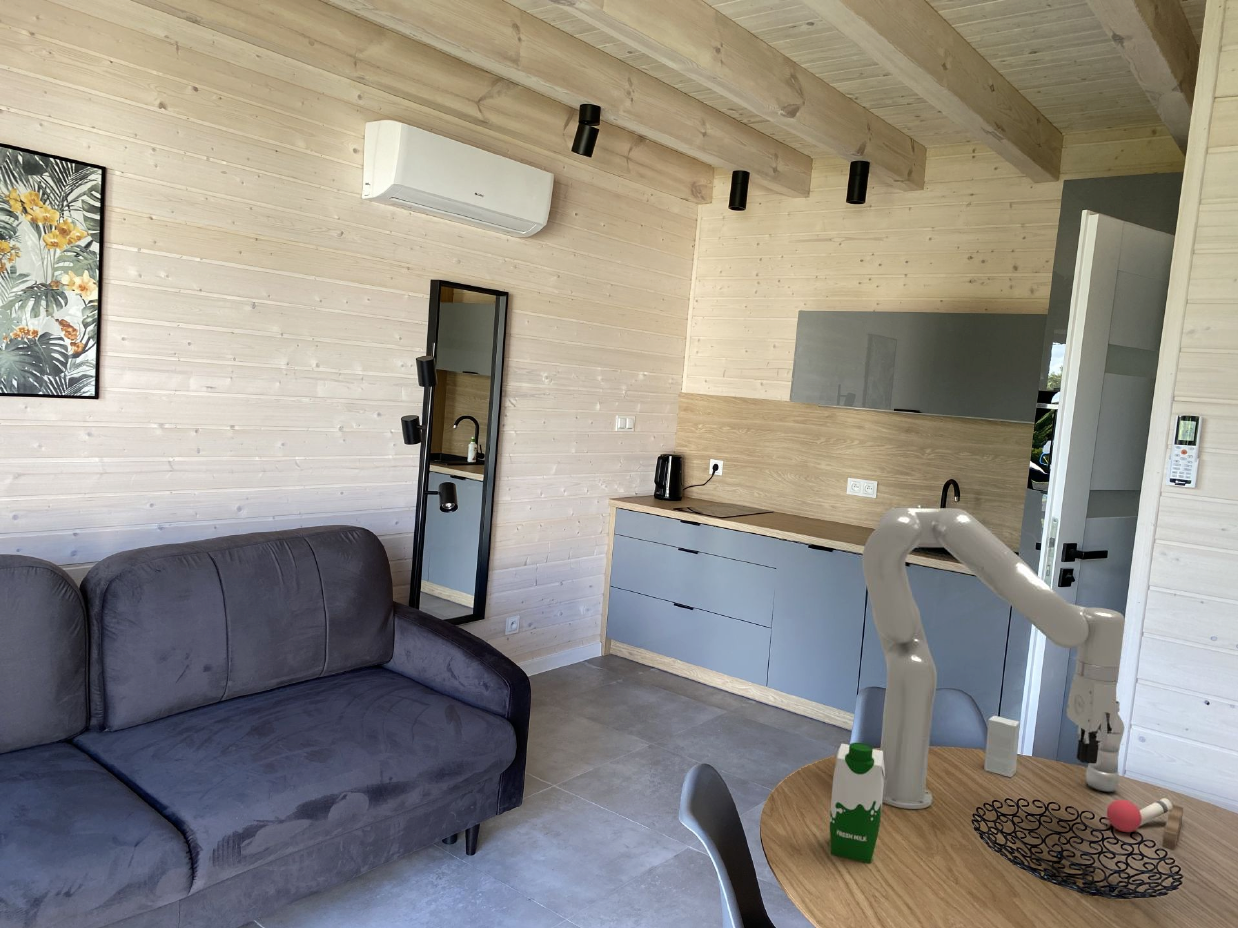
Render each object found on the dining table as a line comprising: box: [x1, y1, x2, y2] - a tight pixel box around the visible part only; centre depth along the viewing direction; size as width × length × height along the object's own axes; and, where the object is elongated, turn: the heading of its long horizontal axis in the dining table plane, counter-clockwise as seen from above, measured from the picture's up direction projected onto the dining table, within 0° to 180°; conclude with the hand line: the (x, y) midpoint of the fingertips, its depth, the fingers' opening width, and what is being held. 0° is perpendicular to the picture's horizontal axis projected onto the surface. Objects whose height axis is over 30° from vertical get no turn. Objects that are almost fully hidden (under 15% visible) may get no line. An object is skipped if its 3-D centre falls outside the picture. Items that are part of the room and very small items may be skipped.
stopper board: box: [1162, 804, 1184, 851], centre depth 177 cm, size 16×2×3 cm, turn 143°
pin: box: [1139, 797, 1173, 827], centre depth 180 cm, size 2×2×9 cm
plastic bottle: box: [1085, 700, 1125, 793], centre depth 196 cm, size 6×7×20 cm
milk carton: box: [829, 742, 885, 864], centre depth 161 cm, size 9×9×20 cm
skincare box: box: [983, 715, 1021, 778], centre depth 203 cm, size 6×4×12 cm
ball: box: [1106, 799, 1142, 833], centre depth 177 cm, size 6×6×6 cm
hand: (1086, 761), depth 177 cm, fingers closed
